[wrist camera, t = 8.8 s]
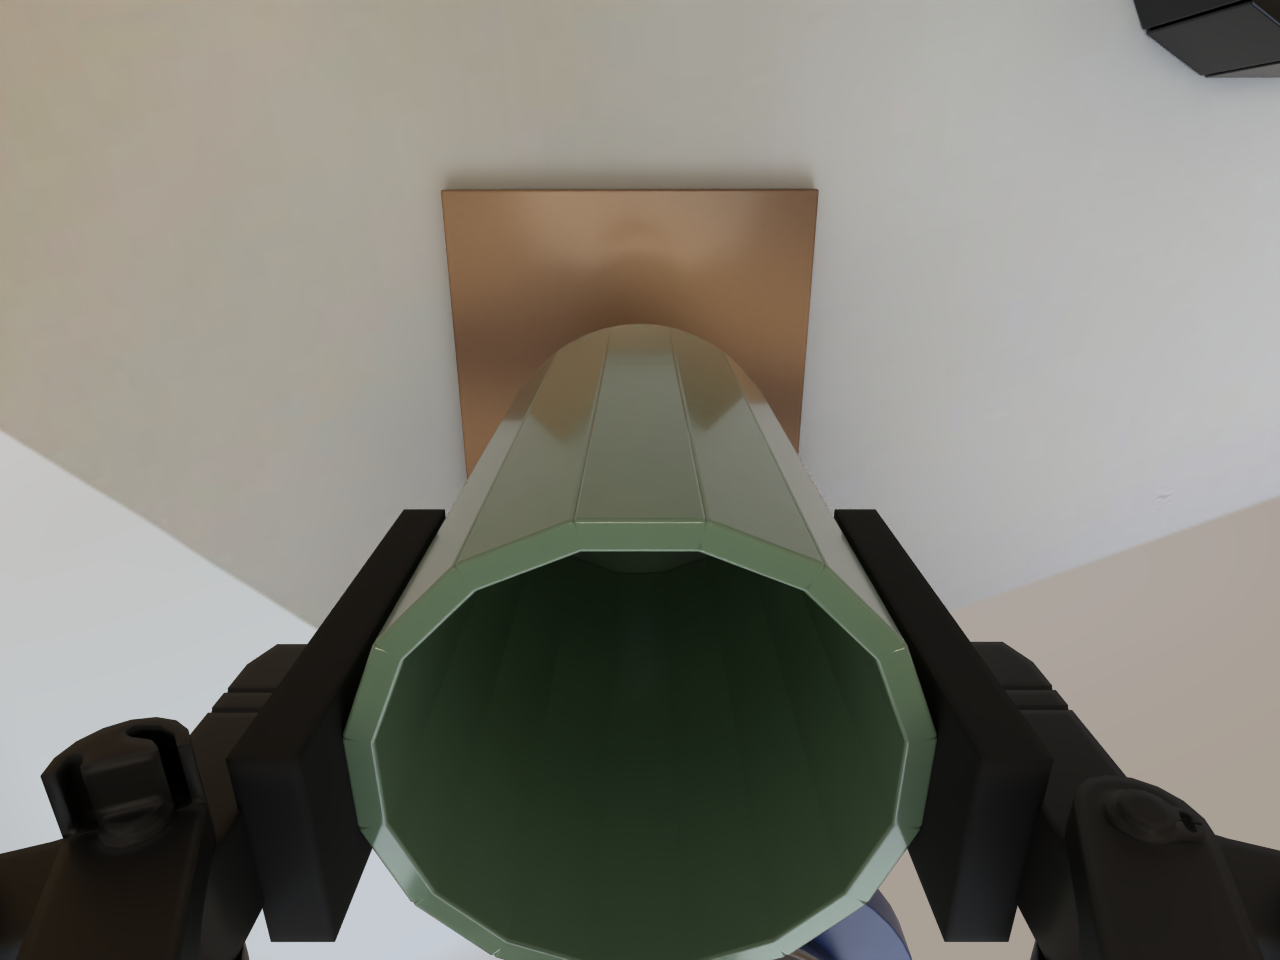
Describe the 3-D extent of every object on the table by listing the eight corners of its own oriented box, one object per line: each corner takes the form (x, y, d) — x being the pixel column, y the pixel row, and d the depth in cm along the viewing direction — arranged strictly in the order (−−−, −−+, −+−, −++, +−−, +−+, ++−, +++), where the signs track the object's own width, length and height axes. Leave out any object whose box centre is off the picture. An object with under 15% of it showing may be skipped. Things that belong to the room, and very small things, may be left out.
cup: (765, 575, 22) (895, 985, 11) (514, 574, 22) (384, 985, 11) (782, 323, 19) (978, 520, 8) (497, 323, 19) (301, 519, 8)
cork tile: (790, 526, 34) (792, 532, 33) (474, 527, 34) (471, 533, 33) (815, 188, 29) (819, 188, 28) (444, 189, 29) (440, 190, 28)
